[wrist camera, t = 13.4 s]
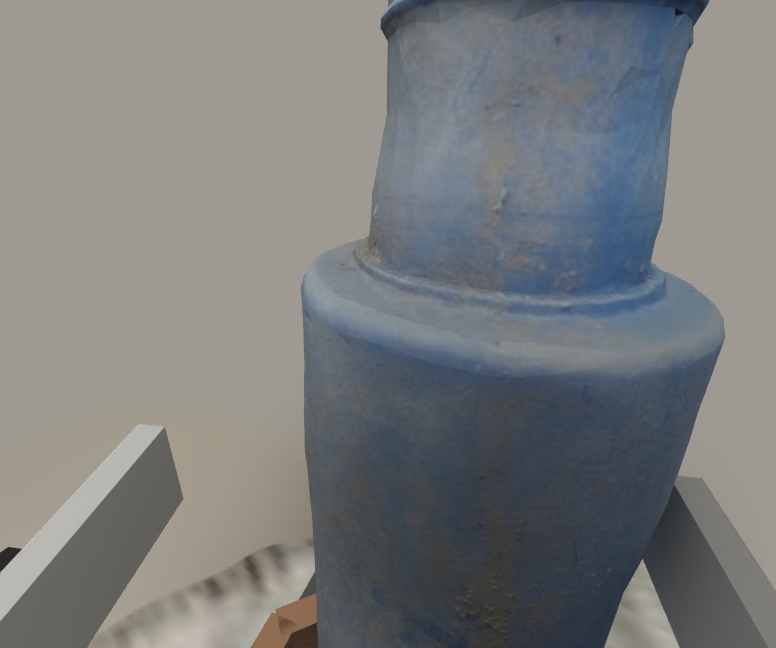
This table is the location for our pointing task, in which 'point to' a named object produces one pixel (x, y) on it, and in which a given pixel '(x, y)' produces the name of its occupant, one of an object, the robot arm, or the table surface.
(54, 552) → the robot arm
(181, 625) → the table surface
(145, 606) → the table surface
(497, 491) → the bottle
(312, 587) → the copper and grey block
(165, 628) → the table surface
